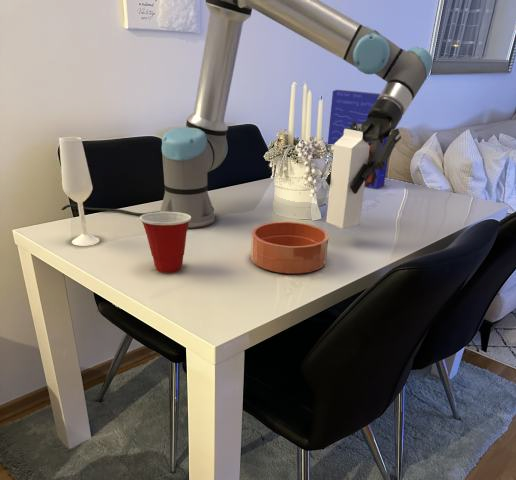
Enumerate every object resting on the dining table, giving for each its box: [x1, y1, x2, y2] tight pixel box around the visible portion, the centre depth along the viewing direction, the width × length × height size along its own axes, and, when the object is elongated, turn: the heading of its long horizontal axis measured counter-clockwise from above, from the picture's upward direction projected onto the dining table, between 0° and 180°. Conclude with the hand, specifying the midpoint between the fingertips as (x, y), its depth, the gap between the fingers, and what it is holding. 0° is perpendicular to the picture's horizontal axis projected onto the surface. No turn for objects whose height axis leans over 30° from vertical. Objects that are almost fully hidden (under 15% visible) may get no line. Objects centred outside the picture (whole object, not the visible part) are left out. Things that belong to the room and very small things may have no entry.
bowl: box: [250, 221, 330, 275], centre depth 118 cm, size 18×18×6 cm
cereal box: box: [327, 89, 389, 190], centre depth 180 cm, size 22×6×30 cm, turn 52°
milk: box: [325, 129, 370, 229], centre depth 122 cm, size 6×6×22 cm
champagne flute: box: [58, 136, 100, 247], centre depth 119 cm, size 7×7×24 cm
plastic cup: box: [139, 211, 191, 274], centre depth 110 cm, size 11×11×12 cm
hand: (340, 186), depth 121 cm, fingers closed on milk, 7 cm apart
